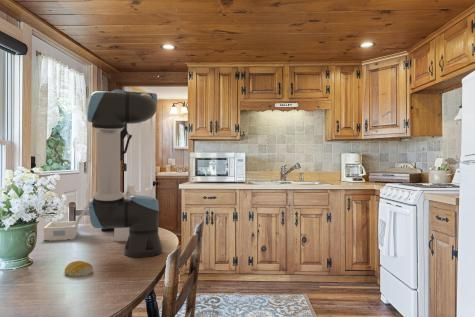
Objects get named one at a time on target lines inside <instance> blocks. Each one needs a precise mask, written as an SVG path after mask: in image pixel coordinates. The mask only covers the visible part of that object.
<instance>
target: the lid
mask: <svg viewBox="0 0 475 317" xmlns="http://www.w3.org/2000/svg"><path fill="white" fill-rule="evenodd" d="M91 199H93V197H91V198H90V200H91ZM88 210H89V201H88V202H87V204H86V206H85V207H84V208H83V210H82V212H81V213H80V215H79V216H78V217H77V219H76V220H75V221H76V222H75V224H74V225H75V226H76V225H77V224H78V225H79V222H80V221H81V220H82V218H83V216H84V215H85V214H86V212H87V211H88Z"/></svg>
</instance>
